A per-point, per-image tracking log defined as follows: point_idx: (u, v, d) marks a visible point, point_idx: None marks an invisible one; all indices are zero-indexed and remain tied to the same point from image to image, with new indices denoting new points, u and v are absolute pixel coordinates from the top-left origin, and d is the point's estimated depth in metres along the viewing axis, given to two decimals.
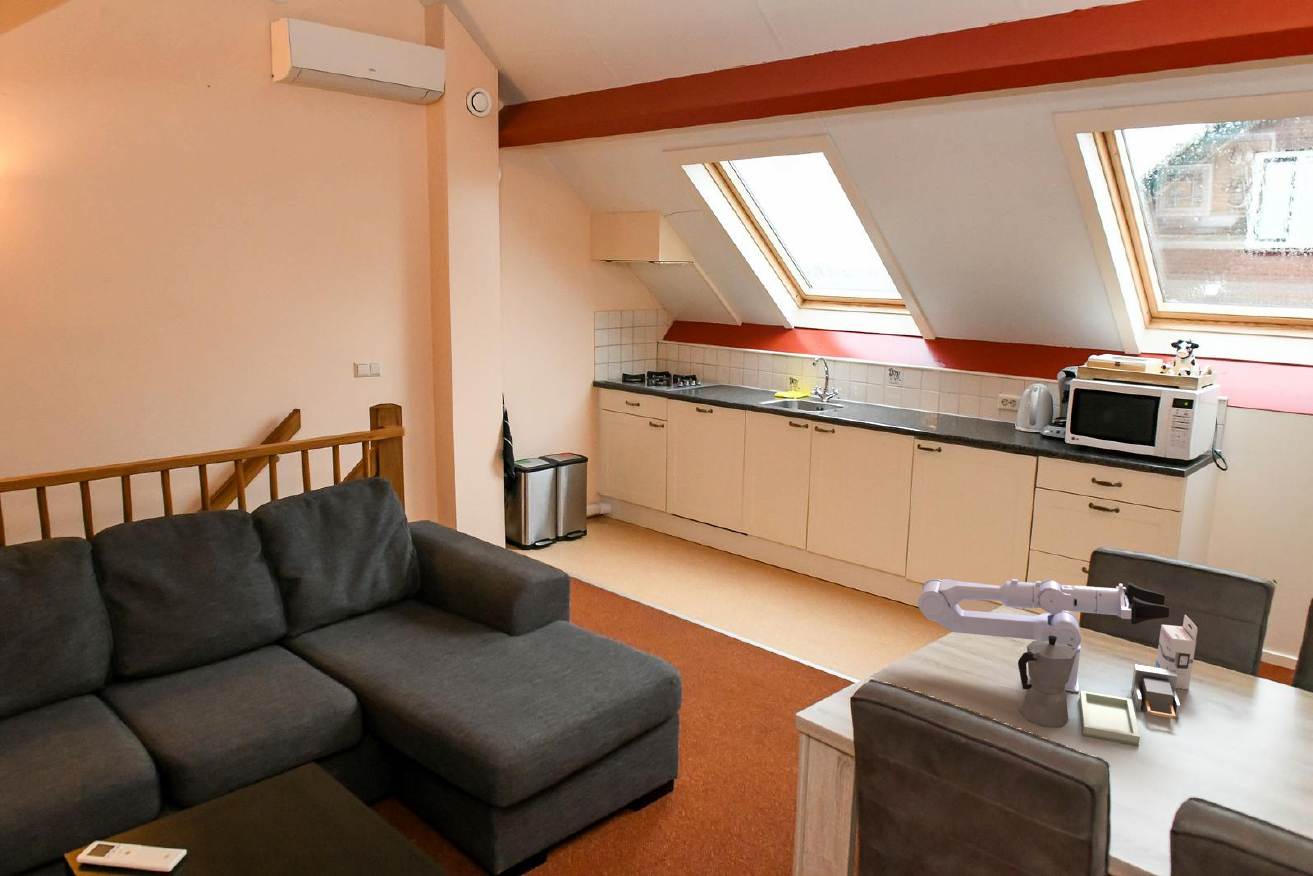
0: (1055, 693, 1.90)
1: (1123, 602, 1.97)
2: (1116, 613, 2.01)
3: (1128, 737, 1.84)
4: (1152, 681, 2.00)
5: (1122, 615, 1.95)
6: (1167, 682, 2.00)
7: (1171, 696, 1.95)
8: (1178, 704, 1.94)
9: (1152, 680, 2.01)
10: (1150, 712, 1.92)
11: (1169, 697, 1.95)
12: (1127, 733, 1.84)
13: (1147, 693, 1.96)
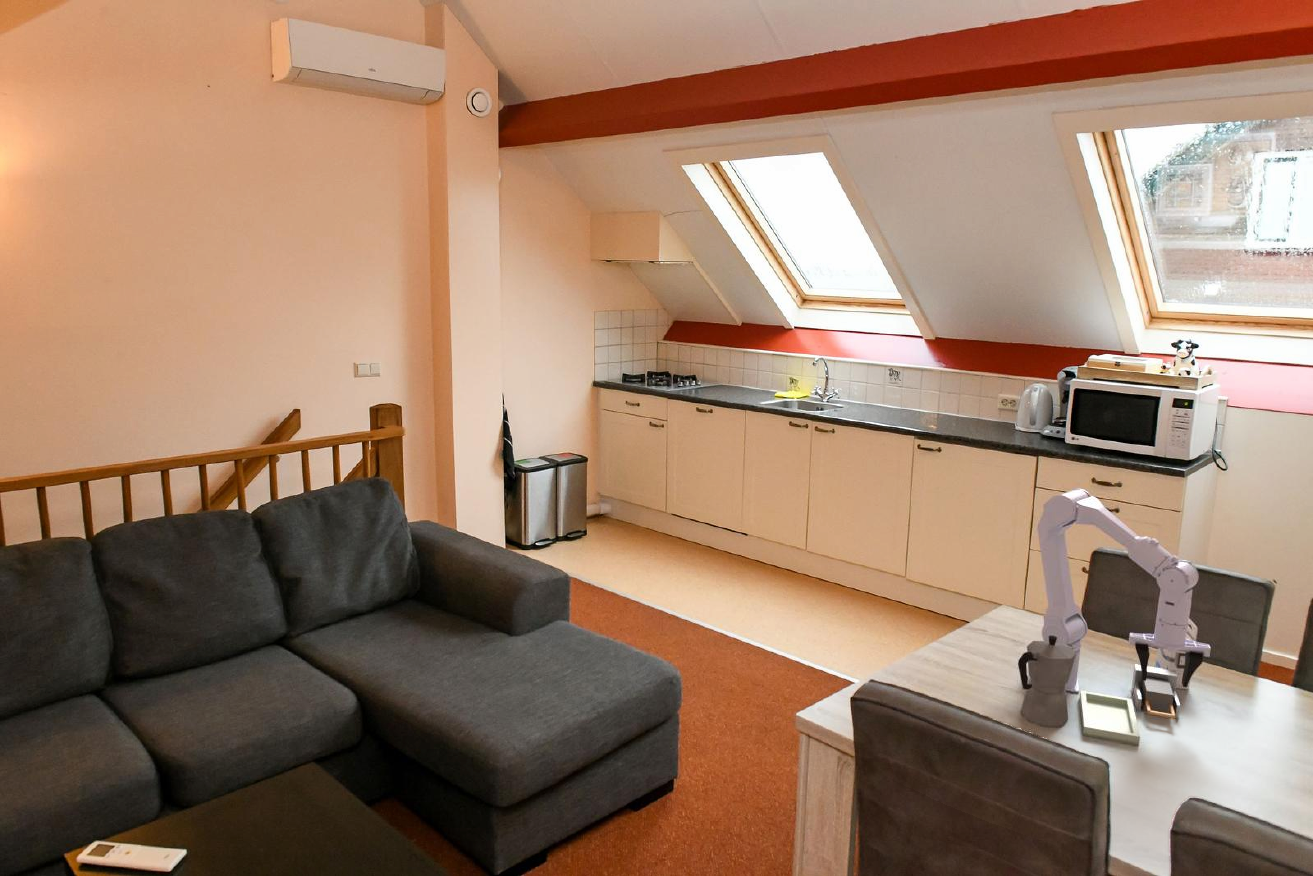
0: (1055, 693, 1.90)
1: (1145, 642, 1.91)
2: None
3: (1128, 737, 1.84)
4: (1152, 681, 2.01)
5: (1129, 635, 1.94)
6: (1167, 682, 2.00)
7: (1171, 696, 1.95)
8: (1178, 704, 1.94)
9: (1152, 680, 2.01)
10: (1150, 712, 1.92)
11: (1169, 697, 1.95)
12: (1127, 733, 1.84)
13: (1147, 693, 1.96)
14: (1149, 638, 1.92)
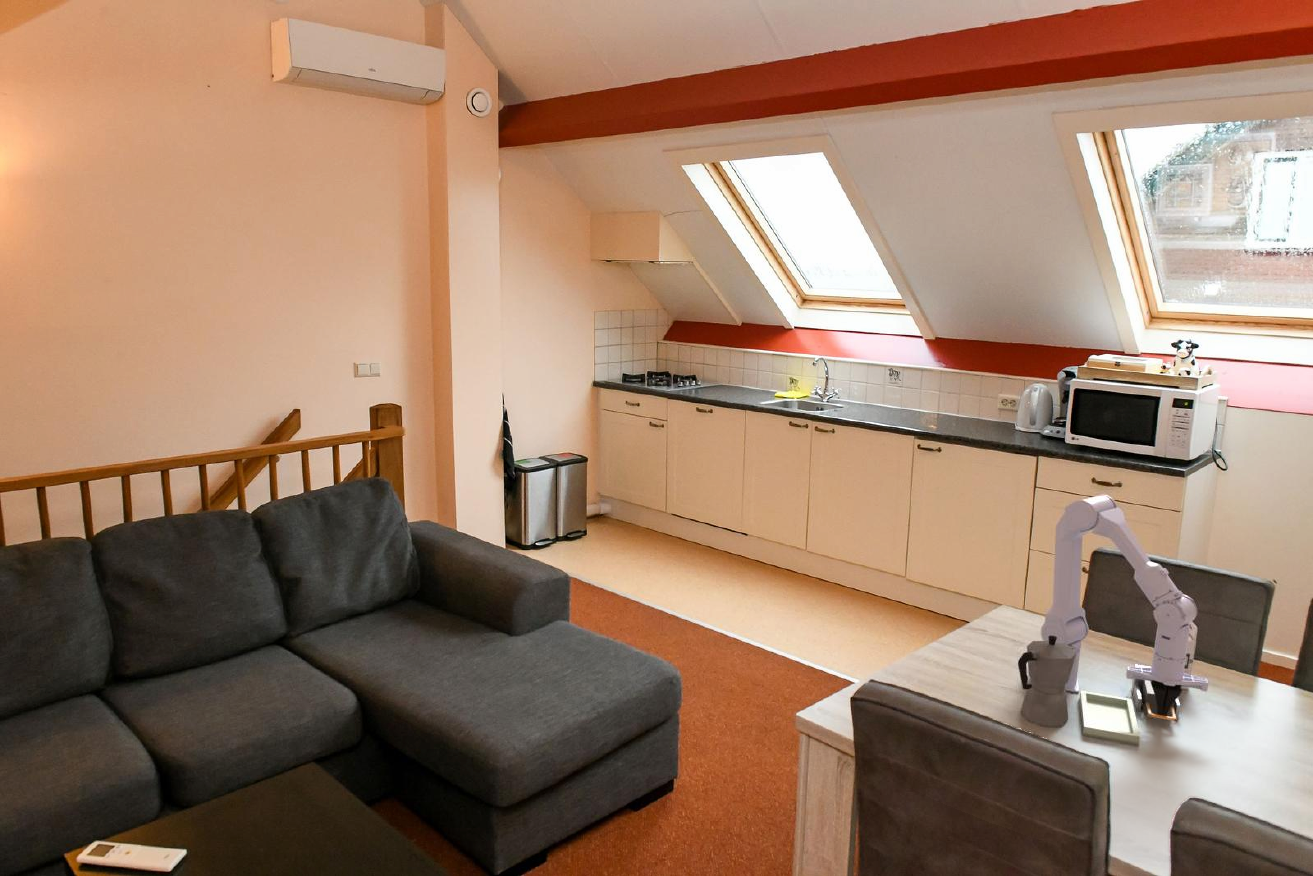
0: (1055, 693, 1.90)
1: (1143, 676, 1.90)
2: None
3: (1128, 737, 1.84)
4: None
5: (1127, 668, 1.93)
6: None
7: None
8: (1178, 704, 1.94)
9: None
10: (1151, 715, 1.91)
11: None
12: (1127, 733, 1.84)
13: (1148, 695, 1.95)
14: (1146, 672, 1.91)
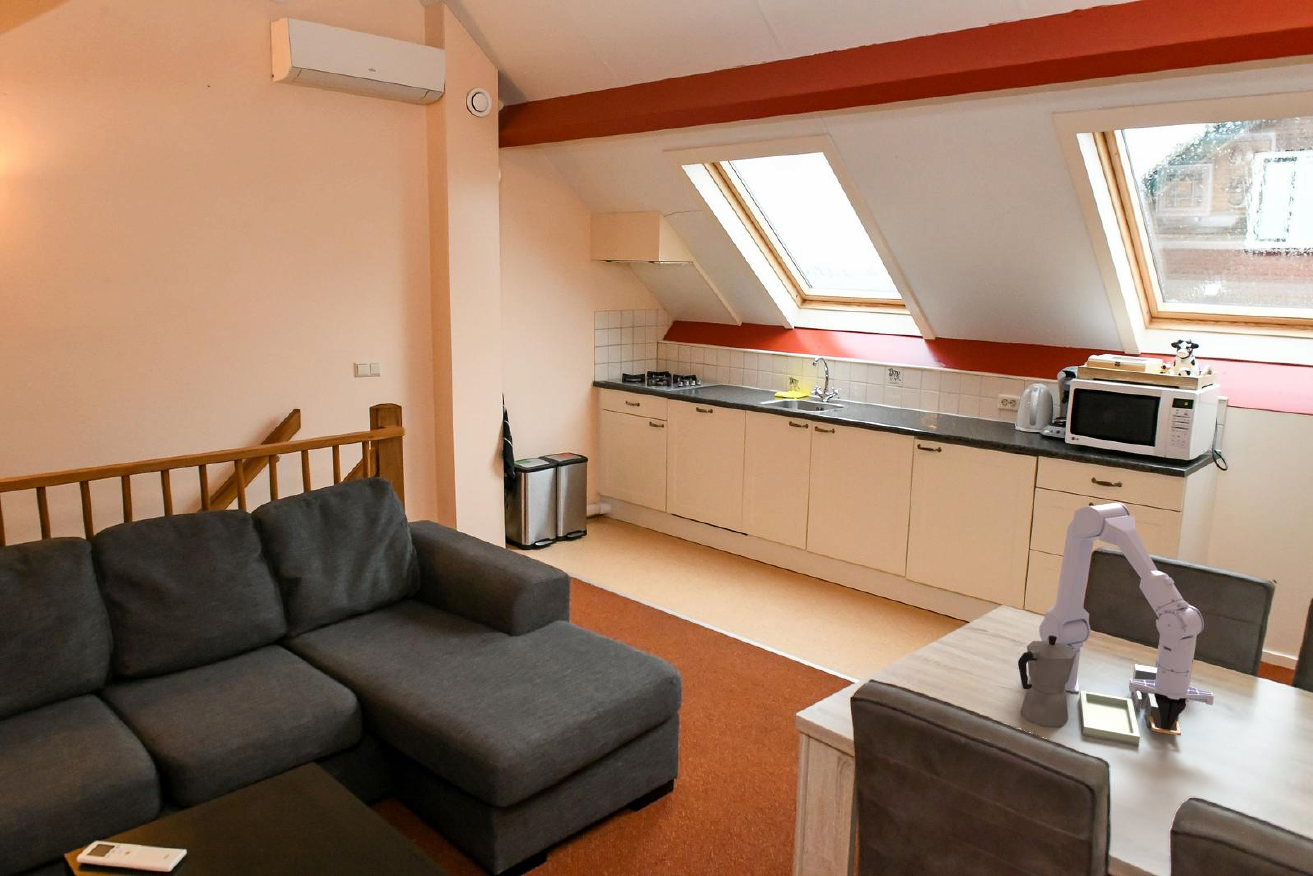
0: (1055, 693, 1.90)
1: (1146, 689, 1.84)
2: None
3: (1128, 737, 1.84)
4: None
5: (1130, 681, 1.87)
6: None
7: None
8: None
9: None
10: (1154, 729, 1.85)
11: None
12: (1127, 733, 1.84)
13: (1151, 708, 1.89)
14: (1150, 685, 1.85)
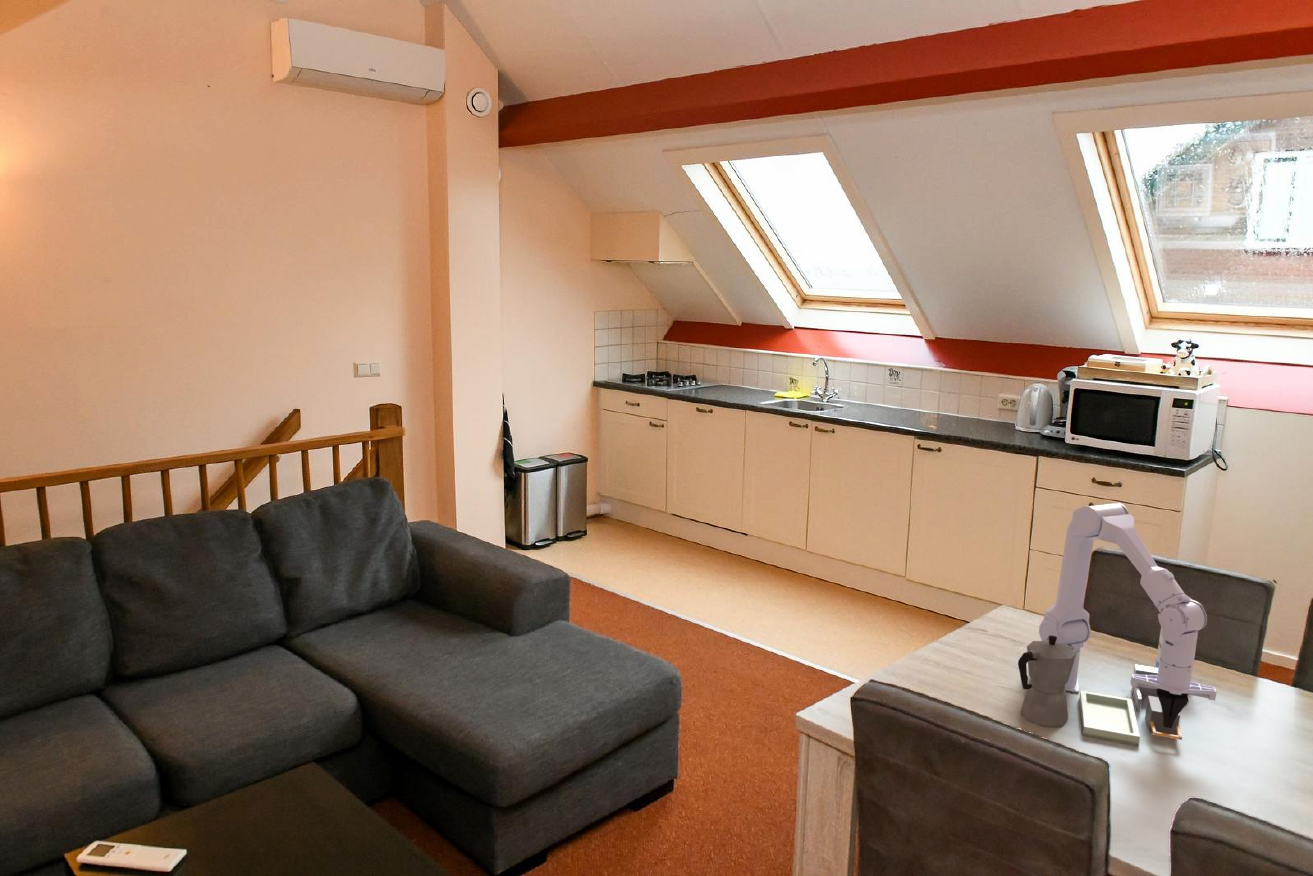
0: (1055, 693, 1.90)
1: (1148, 684, 1.82)
2: None
3: (1128, 737, 1.84)
4: (1157, 700, 1.92)
5: (1131, 676, 1.85)
6: None
7: (1177, 716, 1.86)
8: None
9: (1157, 699, 1.93)
10: (1155, 733, 1.84)
11: None
12: (1127, 733, 1.84)
13: (1152, 713, 1.88)
14: (1152, 680, 1.83)
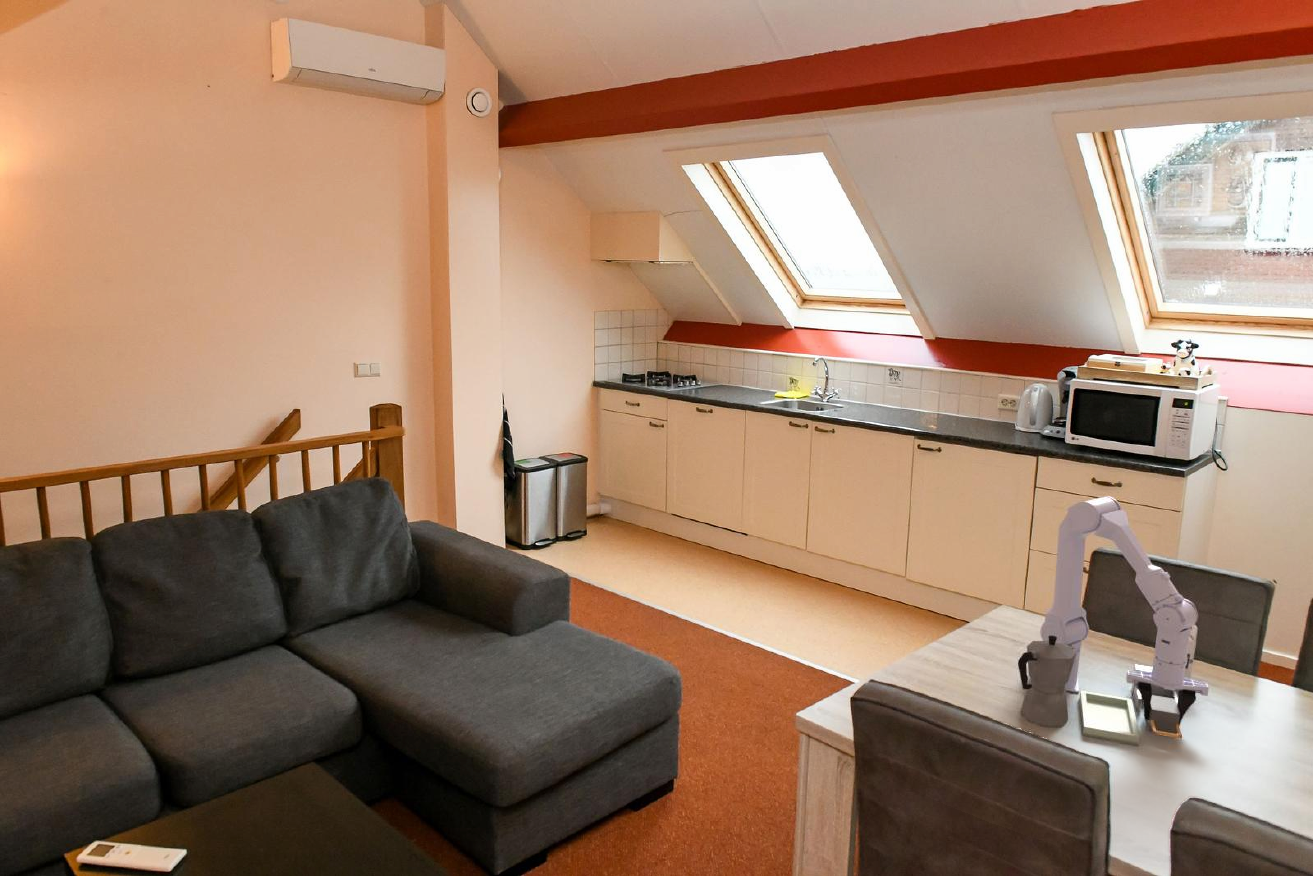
0: (1055, 693, 1.90)
1: (1143, 680, 1.89)
2: None
3: (1128, 737, 1.84)
4: (1157, 699, 1.92)
5: (1127, 672, 1.92)
6: (1173, 700, 1.92)
7: (1177, 715, 1.86)
8: None
9: (1157, 698, 1.93)
10: (1155, 732, 1.84)
11: (1175, 716, 1.87)
12: (1127, 733, 1.84)
13: (1152, 712, 1.88)
14: (1147, 676, 1.90)
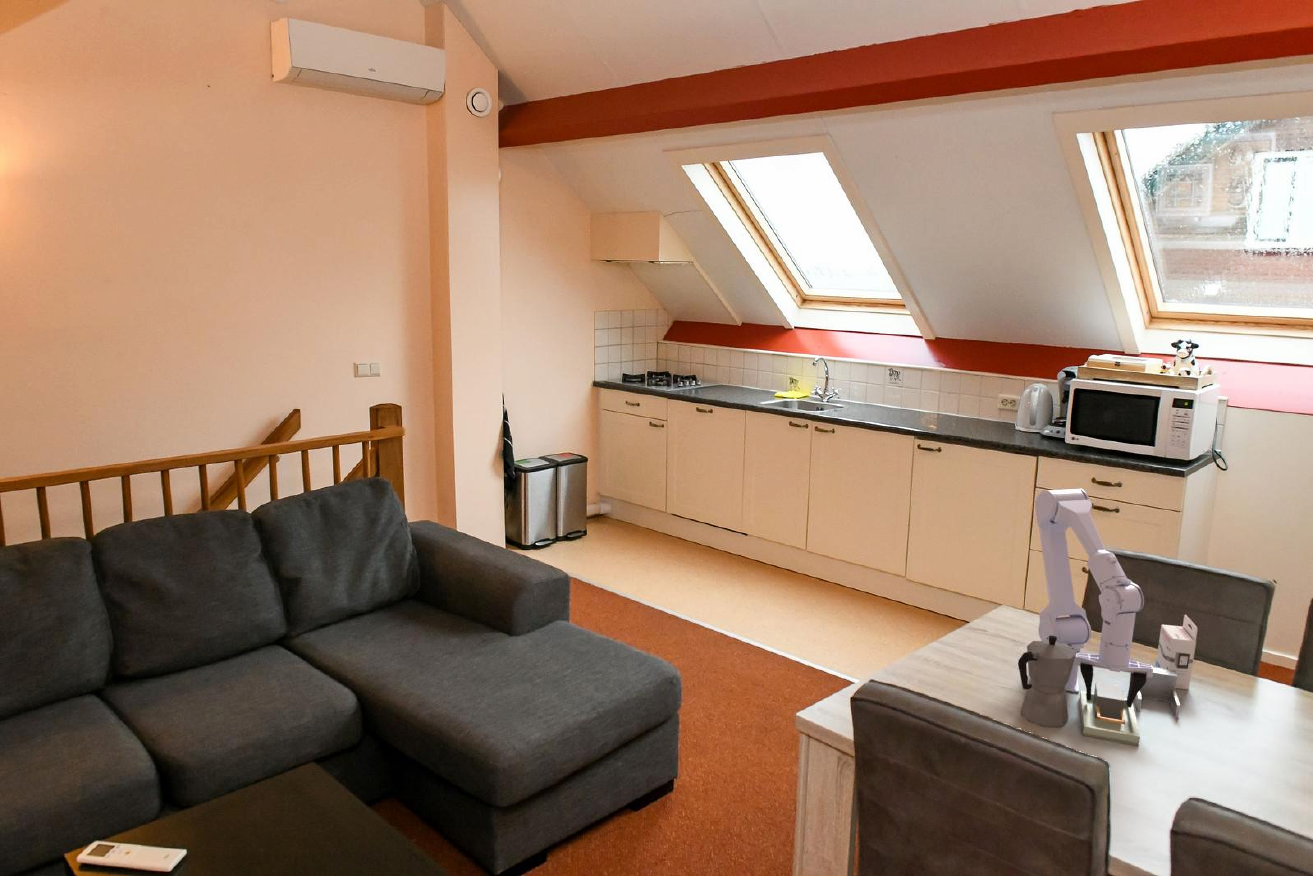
0: (1055, 693, 1.90)
1: (1090, 662, 1.93)
2: None
3: (1128, 737, 1.84)
4: (1104, 686, 1.96)
5: None
6: (1119, 687, 1.96)
7: (1122, 701, 1.90)
8: (1178, 704, 1.94)
9: (1104, 685, 1.97)
10: (1100, 718, 1.88)
11: (1120, 703, 1.90)
12: (1127, 733, 1.84)
13: (1098, 698, 1.92)
14: (1094, 658, 1.94)
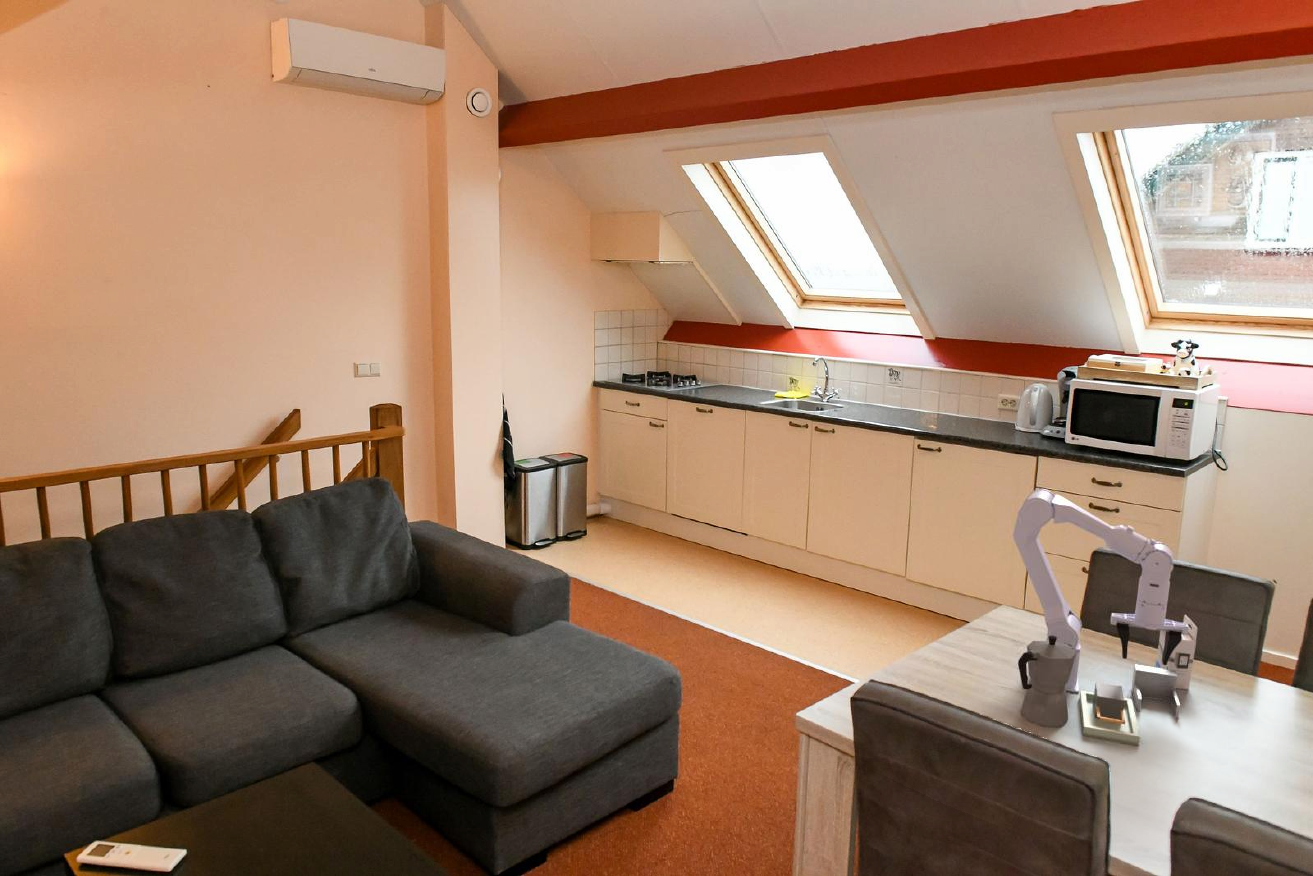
0: (1055, 693, 1.90)
1: (1126, 621, 1.99)
2: None
3: (1128, 737, 1.84)
4: (1104, 686, 1.96)
5: (1111, 615, 2.01)
6: (1119, 687, 1.96)
7: (1122, 701, 1.90)
8: (1178, 704, 1.94)
9: (1104, 685, 1.97)
10: (1100, 718, 1.88)
11: (1120, 703, 1.90)
12: (1127, 733, 1.84)
13: (1098, 698, 1.92)
14: (1130, 618, 2.00)
